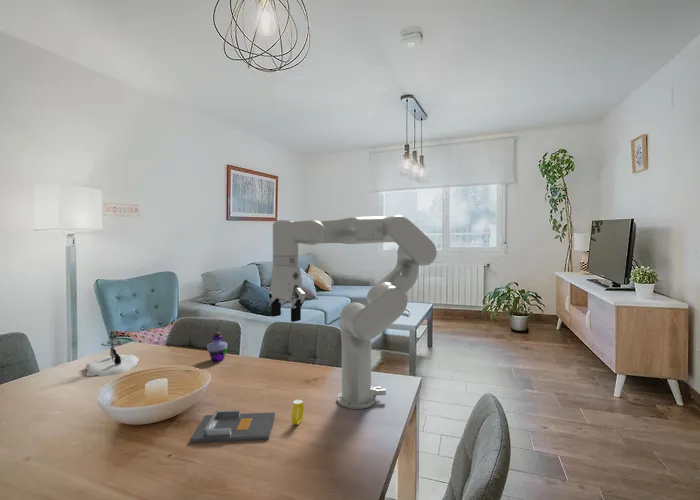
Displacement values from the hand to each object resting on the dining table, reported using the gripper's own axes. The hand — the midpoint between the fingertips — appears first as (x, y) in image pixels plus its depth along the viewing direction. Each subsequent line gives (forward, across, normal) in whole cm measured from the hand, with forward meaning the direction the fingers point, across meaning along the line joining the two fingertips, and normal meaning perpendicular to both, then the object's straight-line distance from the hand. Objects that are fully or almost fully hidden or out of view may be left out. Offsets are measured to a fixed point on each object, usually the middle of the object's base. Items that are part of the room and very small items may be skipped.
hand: (285, 318), depth 106 cm
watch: (+29, -8, +2) cm, 30 cm away
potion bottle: (+29, +58, -8) cm, 66 cm away
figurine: (+30, +83, +25) cm, 91 cm away
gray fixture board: (+29, +2, +15) cm, 33 cm away
